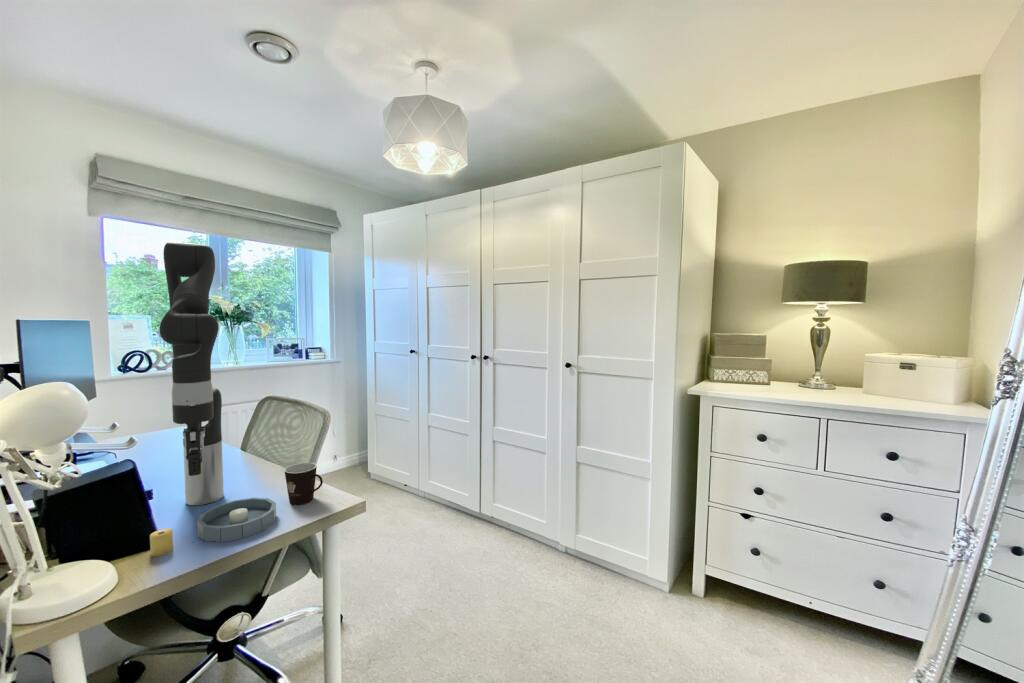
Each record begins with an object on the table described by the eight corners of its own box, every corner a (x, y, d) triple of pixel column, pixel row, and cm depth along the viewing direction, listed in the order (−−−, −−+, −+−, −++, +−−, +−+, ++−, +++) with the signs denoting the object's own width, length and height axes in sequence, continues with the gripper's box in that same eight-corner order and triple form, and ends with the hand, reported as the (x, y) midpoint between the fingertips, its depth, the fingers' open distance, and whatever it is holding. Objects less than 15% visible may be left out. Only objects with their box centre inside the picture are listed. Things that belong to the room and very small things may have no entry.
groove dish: (189, 527, 109) (189, 514, 108) (259, 504, 122) (259, 492, 122) (213, 549, 99) (212, 534, 98) (286, 521, 112) (286, 509, 112)
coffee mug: (281, 500, 125) (280, 467, 124) (311, 491, 131) (310, 460, 130) (294, 513, 117) (293, 478, 116) (325, 504, 123) (325, 470, 122)
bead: (148, 552, 97) (147, 533, 97) (170, 545, 100) (169, 526, 100) (153, 558, 95) (152, 539, 94) (175, 550, 98) (174, 531, 98)
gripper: (174, 396, 100) (177, 462, 101) (169, 408, 88) (172, 483, 89) (213, 393, 104) (215, 457, 105) (212, 404, 93) (215, 475, 94)
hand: (195, 468), depth 97 cm, fingers open, 8 cm apart
